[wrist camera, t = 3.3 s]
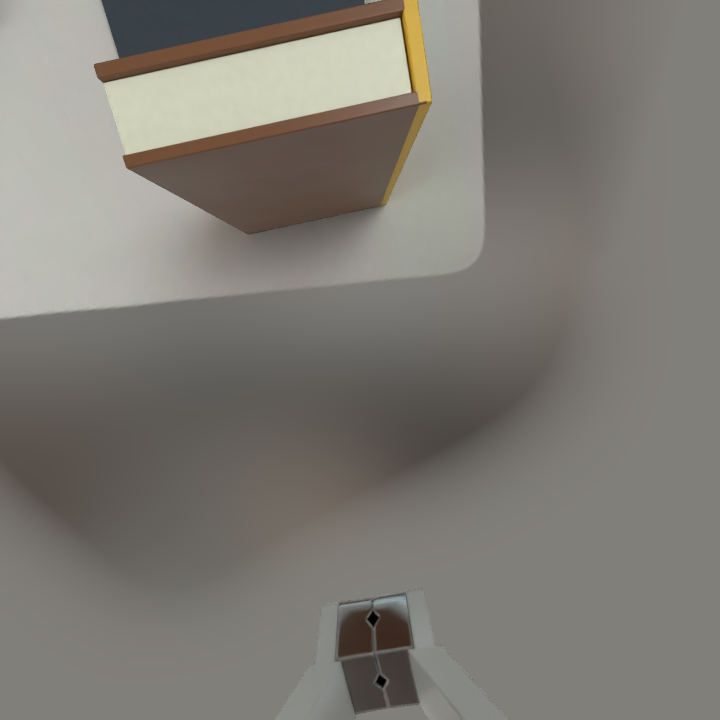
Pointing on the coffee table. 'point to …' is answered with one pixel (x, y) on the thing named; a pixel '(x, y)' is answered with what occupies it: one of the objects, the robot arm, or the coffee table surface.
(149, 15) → the mat
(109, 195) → the coffee table surface
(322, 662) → the robot arm
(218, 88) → the book
